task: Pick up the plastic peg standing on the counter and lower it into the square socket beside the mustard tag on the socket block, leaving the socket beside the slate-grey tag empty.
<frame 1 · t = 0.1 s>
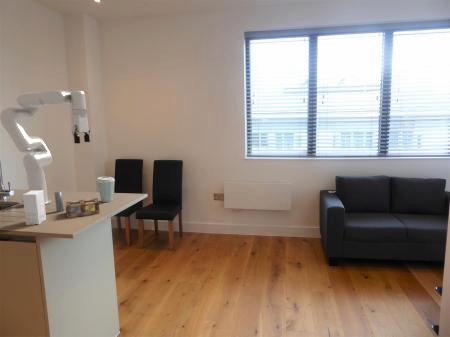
hand: (82, 142, 184), 37 cm above the countertop, tool pointing down, fingers open, 9 cm apart
peg: (60, 211, 176), on the countertop
socket block: (83, 212, 172), on the countertop
skincare box: (36, 222, 158), on the countertop
disposable coffee cup: (107, 201, 196), on the countertop
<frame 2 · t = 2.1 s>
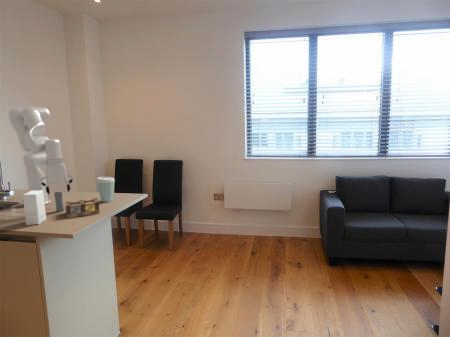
hand: (58, 192, 174), 11 cm above the countertop, tool pointing down, fingers open, 9 cm apart
nothing on the countertop moved.
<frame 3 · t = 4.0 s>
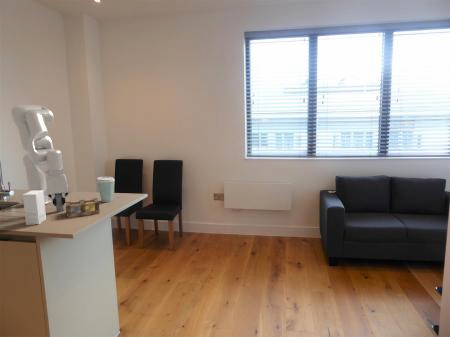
hand: (59, 204, 176), 4 cm above the countertop, tool pointing down, fingers closed on peg, 3 cm apart
peg: (60, 211, 176), on the countertop, touching gripper
everything else where it was.
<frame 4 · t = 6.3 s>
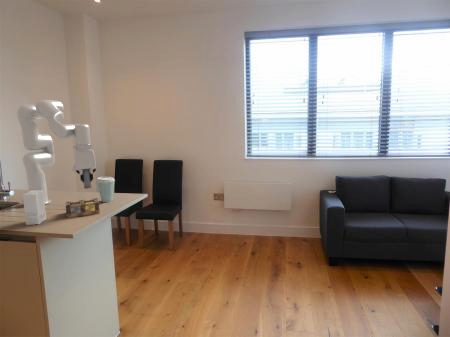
hand: (87, 181, 171), 17 cm above the countertop, tool pointing down, fingers closed on peg, 3 cm apart
peg: (87, 187, 171), point 14 cm above the countertop, touching gripper
everything else where it was.
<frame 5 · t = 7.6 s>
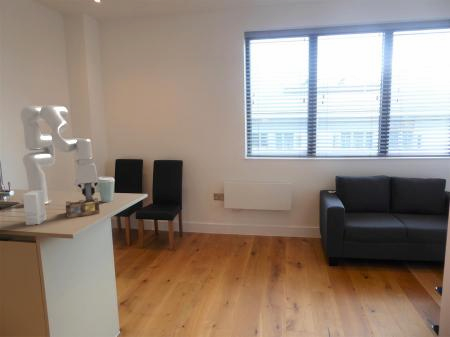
hand: (88, 194, 172), 10 cm above the countertop, tool pointing down, fingers closed on peg, 3 cm apart
peg: (89, 201, 172), point 6 cm above the countertop, touching gripper
everything else where it was.
when the fingers open (8 cm above the countertop, at t = 8.7 s): peg drops 2 cm, resting on socket block.
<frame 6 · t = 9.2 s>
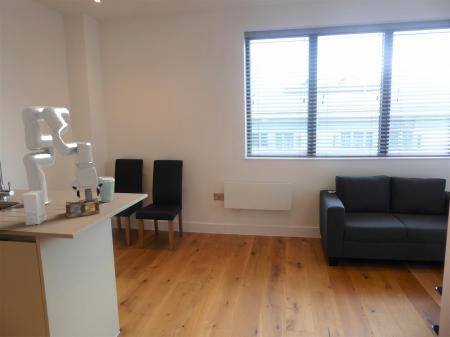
hand: (88, 196, 172), 9 cm above the countertop, tool pointing down, fingers open, 9 cm apart
peg: (89, 208, 173), point 2 cm above the countertop, touching socket block
everything else where it was.
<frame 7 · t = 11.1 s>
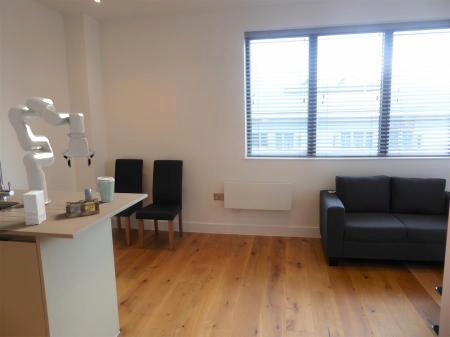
hand: (79, 166, 176), 24 cm above the countertop, tool pointing down, fingers open, 9 cm apart
nothing on the countertop moved.
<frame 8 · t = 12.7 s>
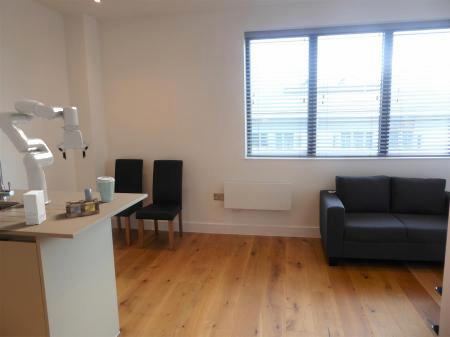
hand: (74, 158, 182), 28 cm above the countertop, tool pointing down, fingers open, 9 cm apart
nothing on the countertop moved.
at the end: peg 0.0 cm from the target spot on the socket block, point 2.0 cm above the socket block's base; peg tilted 0°; the gripper is holding nothing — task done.
